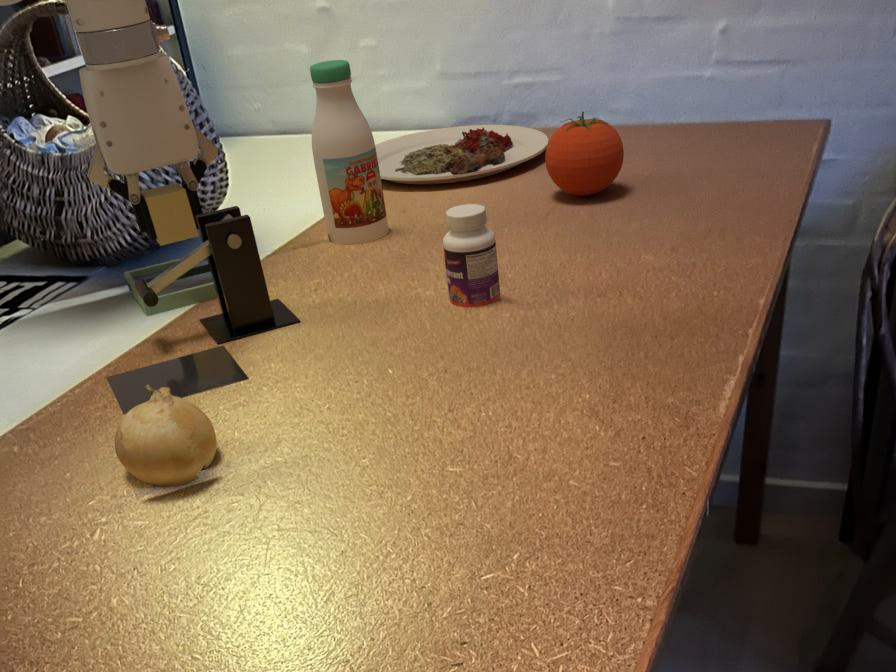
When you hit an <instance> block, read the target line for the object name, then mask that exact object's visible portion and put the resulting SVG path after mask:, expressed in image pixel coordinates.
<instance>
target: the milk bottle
mask: <svg viewBox="0 0 896 672" xmlns="http://www.w3.org/2000/svg"><path fill="white" fill-rule="evenodd" d="M309 73H310V78H311V82H312V87H313V88H314V89H315V93H316V105H315V112H314V119H313V124H312V128H311V150H312V157H313V164H314V169H315V174H316V180H317V186H318V190H319V197H320V203H321V207H322V212H323V218H324V222H325V227H326V231H327V237H328V242H330V243H332V244H336V245H340V246H341V245H342V246H352V245H353V246H354V245H361V244H366V243H370V242H374V241H377V240H380V239H382V238H384V237H386V236H387V235H388V234H389V223H388V216H387V208H386V203H385V197H384V191H383V190H384V189H383V185H382V179H381V177H380V171H379V165H378V159H377V153H376V148H375V145H376V142H375V139H374V134H373V132H372V129H371V127H370V124H369V121H368V120H367V119H366V117H365V115H364V113H363V112H362V110H361V108H360V106H359V104H358V102H357V100H356V98H355V96H354V92H353V89H352V82H353V79H352V71H351V65H350V62H349V61H348V60H345V59H333V60H332V59H331V60H324V61H320V62H317V63H313V64H312V65H311V66H310V67H309Z"/></svg>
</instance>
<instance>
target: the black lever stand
mask: <svg viewBox="0 0 896 672" xmlns="http://www.w3.org/2000/svg"><path fill="white" fill-rule="evenodd" d="M227 214H230V215H231V216H232V217H233V218H230V219H226V220H222V221H219V220H220V219H222V218H223V217H224V216H226V215H227ZM195 217H196V220H197V224H198V228H199V229H198V232H199V234H200V238H201V242H202V244H203V243H204V242H205V241H207V240H209V243H210V247H211V251H212V254H211V255H210V256H208V257H207V260H206V261H207V264H209V268H210V272H209V273H210V276H211V278H212V279H211V280H212V282H213V283H214V286H215V290H216V293H217V297H218V298H217V300H218V304H219V307H220V313H218V314H214V315H211V316H208V317H204V318H199V320H198V321H199V323H200V324H201V325H202V326H203V328H204V329H205V330H206V332H207V333H208V335H209V336H210V337H211V338H212V340H213V341H214V342H215V344H216V345H217V346H221V345H223V344H227V343H230V342H234V341H237V340H238V341H239V340H241V339H245V338H249V337H252V336H256V335H260V334H264V333H267V332H272V331H274V330H278V329H282V328H286V327H289V326H293V325H297V324H300V323H301V320H300V319H299V317H298V316H297V315H295V314H294V313H293V311H291V309H290V308H288V307H287V306H286V305H285V304H284V302H282V300H281V299H279V298H276V299H272V300H271V297H270V294H269V291H268V286H267V282H266V278H265V273H264V269H263V265H262V261H261V256H260V253H259V252H260V251H259V249H258V245H257V239H256V235H255V231H254V228H253V224H252V220H251V216H250V215H249V214H243V215H242V212H241V208H240V207H239V206H238V205H234V206H230V207H225V208H222V209H216V210H212V211H208V212H203V214H199V215H196V216H195Z"/></svg>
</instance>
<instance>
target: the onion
mask: <svg viewBox="0 0 896 672" xmlns="http://www.w3.org/2000/svg"><path fill="white" fill-rule="evenodd" d="M146 386H147V387H146V388H147V389H148V390H149V392H151V391H153V395H152V396H151V398H150V400H149V401H147V402H145V403H142V404H140V405H138V406H136V407H134V408H133V409H131V410H130V411H129V412H128V413H127V414H125V415H123V417H121V419H120V421H119V422H118V425H117V428H116V430H115V434H114V451H115V454H116V457H117V459H118V460H119V463H120V464H122V466H123V467H124V468H125V470H126V471H128V473H130V475H132V476H133V477H134V478H136V479H137V480H139V481H140V482H144V483H145V484H150V485H152V486H153V487H157V488H168V487H170V488H171V487H173V486H174V487H175V486H180V485H183V484H189V483H191V482H194V481H195V480H197V479H199V476H197V475H198V474H200V473H201V471H202V470H207V468H208V467H210V465H212V464H213V460H214V458H215V456H216V452H217V448H218V447H217V445H218V441H217V436H216V431H215V428H214V424H213V423H212V421H211V420H210V417H208V415H207V414H206V413H205V412H204V411H203V410H202V409H201V408H200V407H198V406H197V405H196V404H195V403H194V402H193V403H192V402H191V401H189V400H187V399H185V398H180V397H176V396H171V393H170V388H165V387H162V388H160V389H159V390H154V389H152V388H151V387H149V385H146Z"/></svg>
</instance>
